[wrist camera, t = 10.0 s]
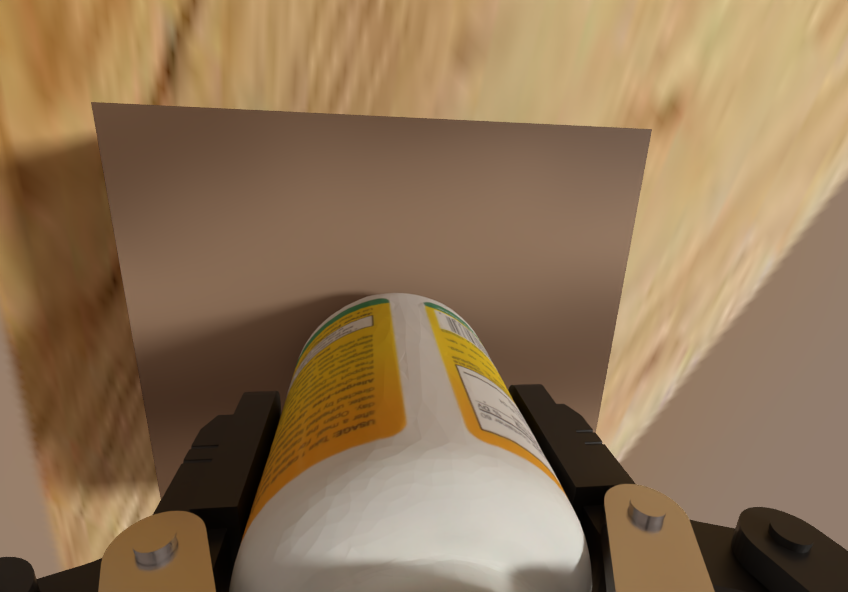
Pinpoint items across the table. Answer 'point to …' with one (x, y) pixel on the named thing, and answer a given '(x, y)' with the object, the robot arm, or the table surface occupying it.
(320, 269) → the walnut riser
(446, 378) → the supplement bottle
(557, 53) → the table surface
